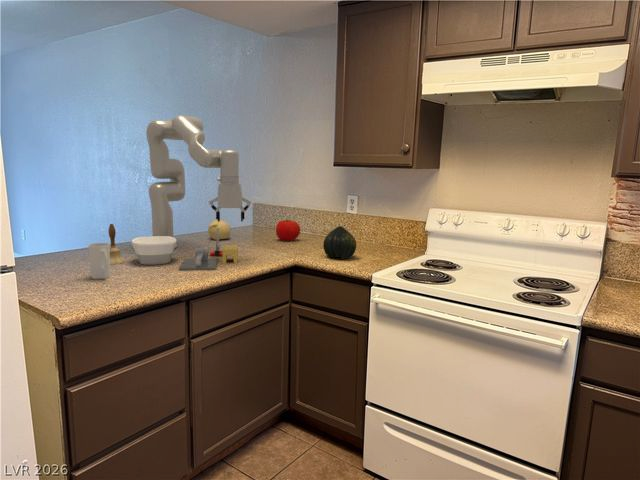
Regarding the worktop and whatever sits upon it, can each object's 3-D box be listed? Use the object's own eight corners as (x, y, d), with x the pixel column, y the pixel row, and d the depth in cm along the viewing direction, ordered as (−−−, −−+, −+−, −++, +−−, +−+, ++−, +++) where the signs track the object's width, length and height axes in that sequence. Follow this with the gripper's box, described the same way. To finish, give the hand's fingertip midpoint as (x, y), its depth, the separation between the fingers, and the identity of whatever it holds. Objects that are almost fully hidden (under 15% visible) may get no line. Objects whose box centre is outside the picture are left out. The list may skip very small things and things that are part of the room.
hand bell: (101, 265, 180) (98, 225, 177) (105, 260, 188) (102, 222, 185) (123, 264, 182) (121, 225, 180) (126, 259, 190) (124, 222, 187)
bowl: (131, 258, 193) (130, 237, 191) (175, 256, 200) (174, 235, 198) (132, 267, 177) (131, 244, 175) (179, 264, 184) (178, 242, 182)
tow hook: (215, 252, 211) (207, 255, 202) (215, 225, 210) (208, 227, 201) (232, 254, 210) (225, 257, 201) (233, 226, 209) (226, 228, 199)
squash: (338, 250, 194) (352, 223, 199) (312, 247, 204) (327, 220, 209) (353, 268, 203) (366, 241, 208) (328, 264, 213) (341, 238, 218)
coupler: (178, 270, 175) (178, 257, 174) (185, 260, 192) (185, 248, 191) (215, 270, 177) (215, 257, 176) (218, 259, 195) (218, 248, 194)
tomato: (278, 238, 253) (278, 217, 251) (301, 239, 252) (302, 218, 250) (273, 241, 241) (273, 220, 239) (297, 243, 240) (298, 221, 238)
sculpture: (209, 237, 250) (209, 218, 248) (231, 237, 251) (231, 218, 249) (206, 240, 238) (206, 220, 237) (229, 241, 240) (229, 221, 238)
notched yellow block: (222, 263, 189) (222, 249, 188) (223, 259, 197) (223, 245, 196) (237, 263, 190) (237, 249, 189) (237, 259, 198) (237, 245, 197)
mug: (87, 276, 162) (85, 244, 160) (107, 273, 167) (105, 242, 165) (97, 282, 155) (95, 248, 153) (117, 279, 160) (115, 246, 158)
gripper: (207, 180, 182) (208, 222, 185) (250, 181, 185) (251, 222, 188) (209, 179, 190) (210, 220, 193) (250, 180, 192) (251, 220, 195)
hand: (230, 221), depth 190 cm, fingers open, 9 cm apart
